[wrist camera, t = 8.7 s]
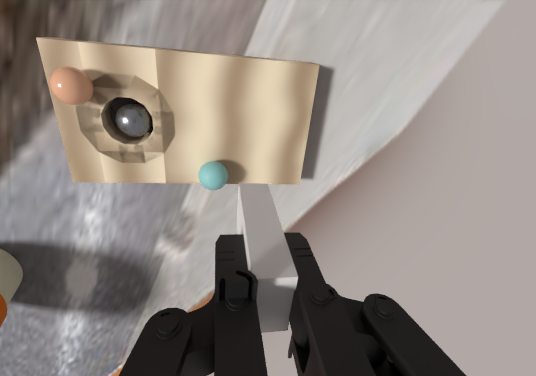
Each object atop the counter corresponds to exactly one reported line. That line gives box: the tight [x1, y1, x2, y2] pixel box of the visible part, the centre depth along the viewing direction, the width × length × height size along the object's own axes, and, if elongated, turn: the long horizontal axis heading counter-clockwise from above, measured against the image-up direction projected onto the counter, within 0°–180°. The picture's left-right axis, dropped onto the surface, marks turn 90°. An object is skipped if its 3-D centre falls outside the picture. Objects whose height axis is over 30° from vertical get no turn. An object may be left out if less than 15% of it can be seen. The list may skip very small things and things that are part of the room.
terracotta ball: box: [49, 66, 93, 105], centre depth 23 cm, size 3×3×3 cm
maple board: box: [36, 37, 320, 184], centre depth 29 cm, size 24×13×2 cm, turn 84°
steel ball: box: [116, 103, 152, 137], centre depth 27 cm, size 3×3×3 cm
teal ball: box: [198, 161, 228, 190], centre depth 29 cm, size 3×3×3 cm
